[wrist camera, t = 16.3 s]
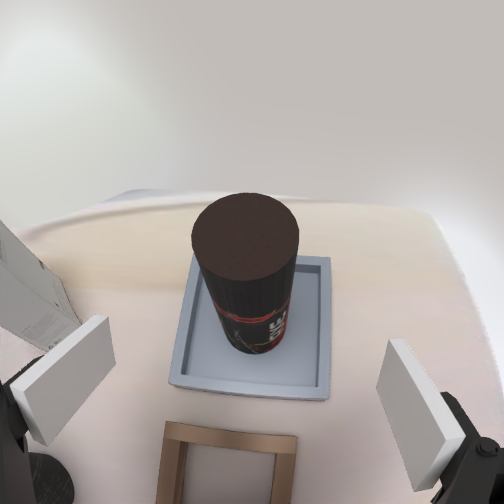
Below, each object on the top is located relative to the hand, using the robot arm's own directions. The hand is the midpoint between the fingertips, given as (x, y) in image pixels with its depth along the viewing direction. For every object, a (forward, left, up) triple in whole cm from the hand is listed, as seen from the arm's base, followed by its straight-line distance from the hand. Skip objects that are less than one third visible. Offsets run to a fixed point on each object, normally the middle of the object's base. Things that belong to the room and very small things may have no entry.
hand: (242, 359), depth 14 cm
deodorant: (-1, +7, -15) cm, 17 cm away
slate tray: (-1, +7, -16) cm, 17 cm away
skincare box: (-25, +5, -16) cm, 30 cm away
